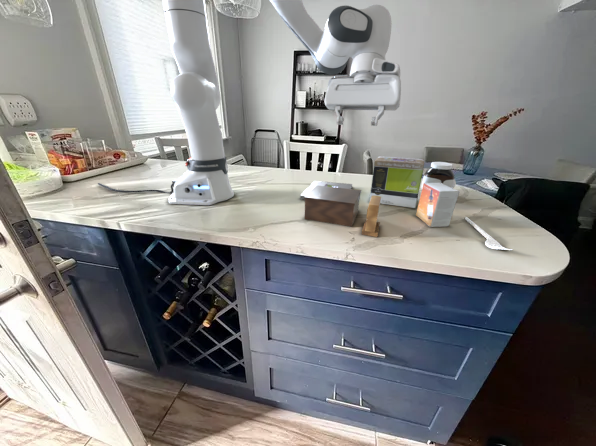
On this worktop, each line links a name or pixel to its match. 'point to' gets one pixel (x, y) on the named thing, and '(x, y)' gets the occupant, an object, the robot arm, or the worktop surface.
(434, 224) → the small box
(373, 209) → the wooden i-shaped block
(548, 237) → the worktop surface
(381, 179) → the tea box
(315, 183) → the play button award
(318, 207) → the wooden box
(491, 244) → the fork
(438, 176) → the spread jar
